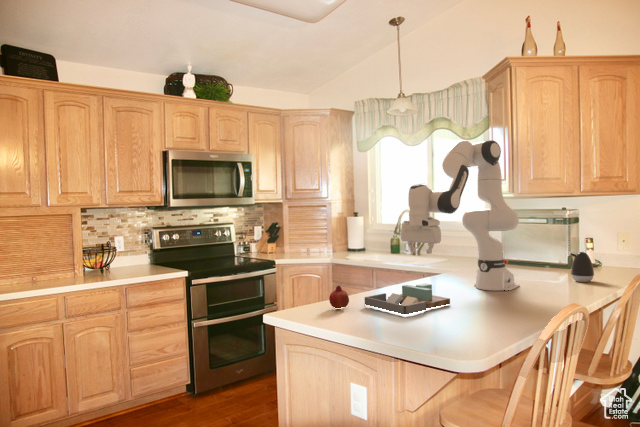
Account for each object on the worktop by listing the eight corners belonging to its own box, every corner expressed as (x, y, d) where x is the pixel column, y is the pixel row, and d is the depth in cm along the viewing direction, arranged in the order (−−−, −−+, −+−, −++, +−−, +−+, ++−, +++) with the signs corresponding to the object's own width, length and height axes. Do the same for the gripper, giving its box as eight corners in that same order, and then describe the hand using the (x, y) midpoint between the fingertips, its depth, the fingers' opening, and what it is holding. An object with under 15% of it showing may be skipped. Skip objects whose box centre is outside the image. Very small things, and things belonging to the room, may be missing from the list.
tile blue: (394, 296, 188) (392, 293, 187) (403, 298, 184) (401, 294, 183) (387, 304, 186) (385, 301, 185) (396, 306, 182) (394, 303, 181)
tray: (385, 303, 191) (384, 293, 191) (426, 312, 173) (425, 301, 173) (364, 307, 185) (364, 297, 185) (405, 318, 166) (404, 306, 166)
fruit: (351, 311, 179) (350, 286, 179) (331, 312, 178) (330, 288, 178) (346, 306, 187) (346, 283, 187) (328, 308, 186) (327, 284, 186)
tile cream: (409, 299, 181) (407, 296, 180) (418, 301, 177) (416, 298, 176) (402, 308, 179) (400, 304, 178) (411, 310, 175) (409, 306, 174)
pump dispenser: (571, 279, 234) (571, 250, 234) (595, 280, 228) (594, 251, 227) (569, 282, 226) (568, 252, 225) (593, 283, 219) (592, 253, 219)
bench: (414, 298, 200) (413, 291, 200) (450, 305, 183) (449, 298, 183) (388, 303, 190) (388, 296, 190) (423, 312, 174) (423, 304, 174)
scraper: (416, 293, 196) (416, 281, 196) (441, 297, 185) (441, 286, 185) (402, 296, 191) (402, 284, 191) (427, 301, 180) (427, 288, 180)
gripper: (397, 221, 200) (398, 251, 200) (433, 222, 183) (434, 255, 184) (406, 220, 203) (408, 250, 204) (442, 221, 187) (444, 253, 187)
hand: (420, 252), depth 194 cm, fingers open, 8 cm apart
